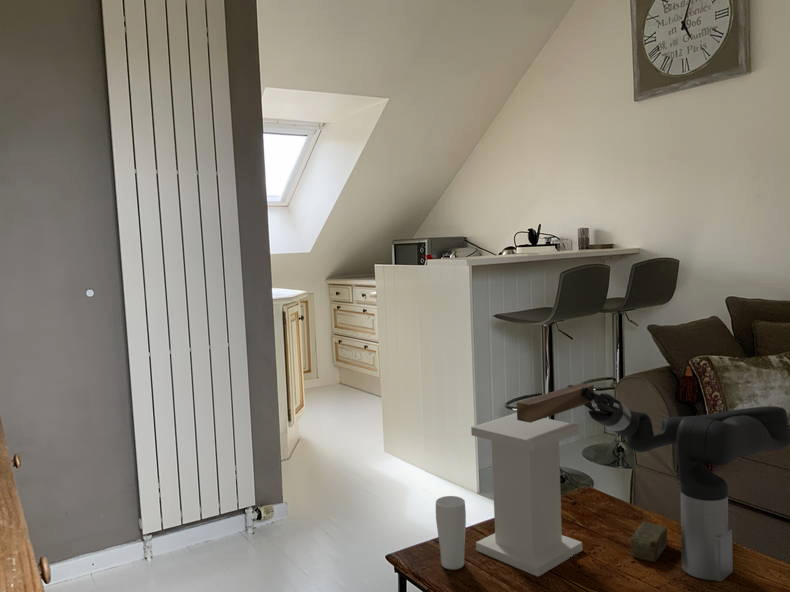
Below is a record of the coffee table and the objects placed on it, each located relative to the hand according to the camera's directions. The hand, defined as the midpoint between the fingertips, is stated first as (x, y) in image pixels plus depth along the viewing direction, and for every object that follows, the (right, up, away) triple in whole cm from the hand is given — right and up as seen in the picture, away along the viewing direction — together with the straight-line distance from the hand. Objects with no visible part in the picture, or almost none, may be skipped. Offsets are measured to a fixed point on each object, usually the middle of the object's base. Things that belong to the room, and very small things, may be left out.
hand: (575, 389), depth 157 cm
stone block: (+16, -37, -5) cm, 41 cm away
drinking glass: (-30, -39, -8) cm, 50 cm away
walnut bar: (-6, -4, -5) cm, 8 cm away
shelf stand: (-12, -38, -2) cm, 40 cm away
